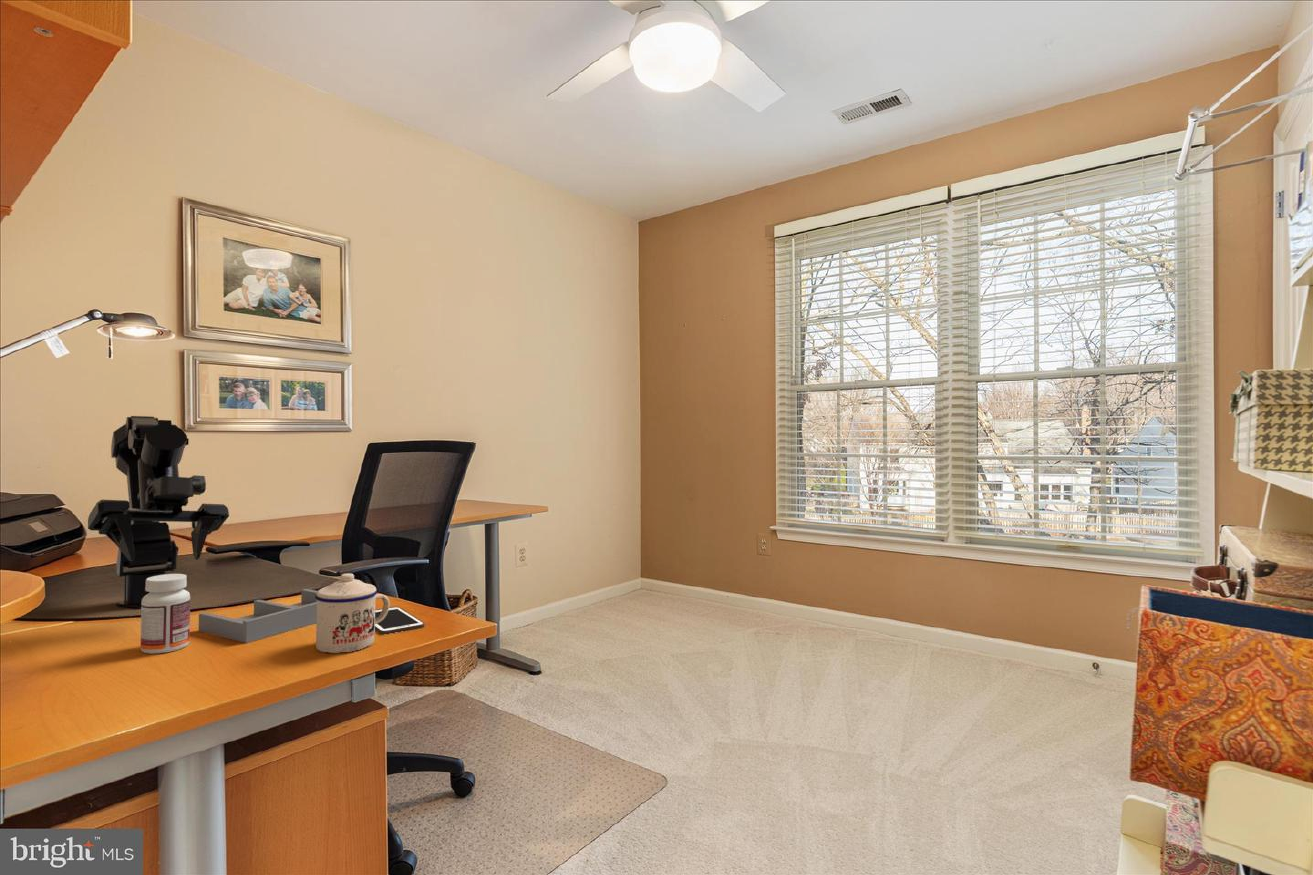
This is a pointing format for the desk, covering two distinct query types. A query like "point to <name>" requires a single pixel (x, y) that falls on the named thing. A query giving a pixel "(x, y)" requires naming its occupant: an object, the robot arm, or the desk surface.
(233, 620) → the tray
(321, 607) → the teacup with lid
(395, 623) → the cell phone
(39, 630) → the desk surface
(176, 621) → the pill bottle
